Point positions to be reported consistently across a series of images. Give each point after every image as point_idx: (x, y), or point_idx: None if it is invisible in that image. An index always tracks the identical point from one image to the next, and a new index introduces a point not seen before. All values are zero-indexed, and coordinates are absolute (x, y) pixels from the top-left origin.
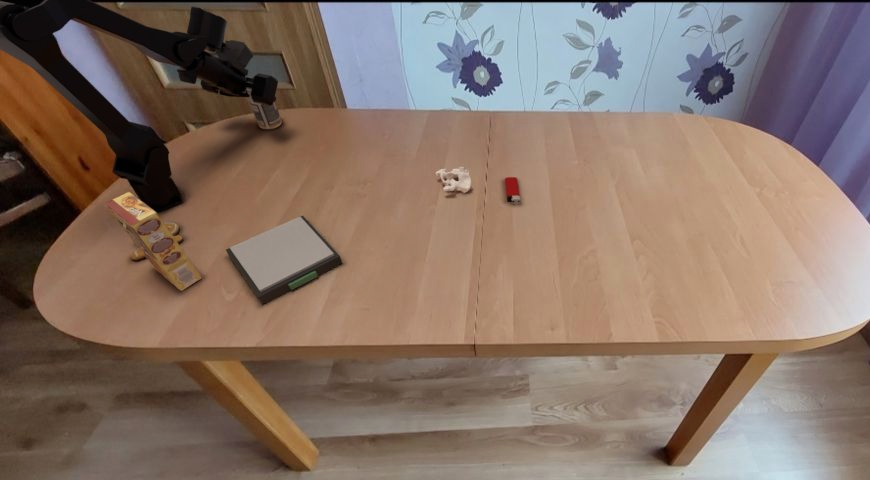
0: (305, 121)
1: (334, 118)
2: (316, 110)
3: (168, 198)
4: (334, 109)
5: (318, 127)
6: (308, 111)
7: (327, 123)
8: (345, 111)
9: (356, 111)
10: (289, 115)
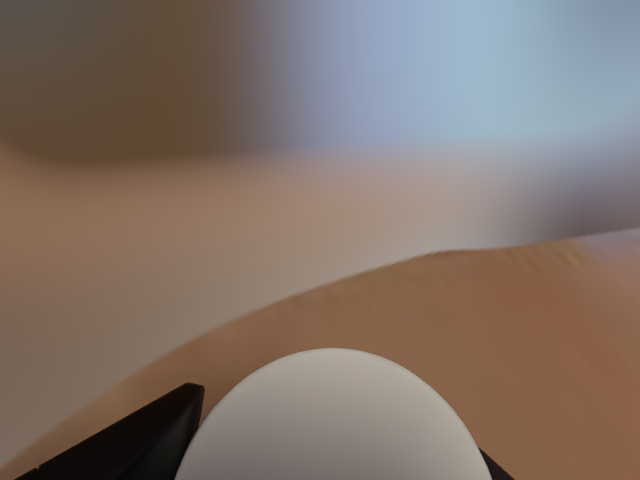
0: (477, 390)
1: (590, 327)
2: (454, 267)
3: None
4: (525, 246)
5: (593, 446)
6: (423, 282)
7: (600, 386)
8: (583, 256)
9: (624, 249)
10: (349, 340)
